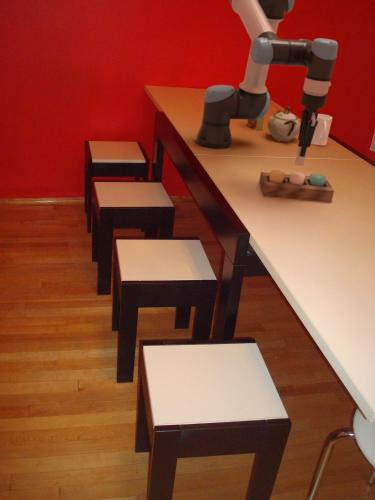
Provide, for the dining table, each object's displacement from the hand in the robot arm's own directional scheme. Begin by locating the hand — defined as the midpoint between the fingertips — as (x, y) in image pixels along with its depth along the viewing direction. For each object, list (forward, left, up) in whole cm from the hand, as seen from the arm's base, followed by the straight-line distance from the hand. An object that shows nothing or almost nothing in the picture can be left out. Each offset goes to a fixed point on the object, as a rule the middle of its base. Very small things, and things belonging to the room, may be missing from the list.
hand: (299, 164), depth 167 cm
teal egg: (+7, -1, -8) cm, 11 cm away
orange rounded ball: (-7, -1, -8) cm, 11 cm away
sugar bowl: (+6, +63, -10) cm, 65 cm away
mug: (+22, +60, -10) cm, 65 cm away
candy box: (-5, +78, -10) cm, 79 cm away
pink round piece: (0, -1, -8) cm, 8 cm away
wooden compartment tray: (0, -1, -10) cm, 10 cm away
